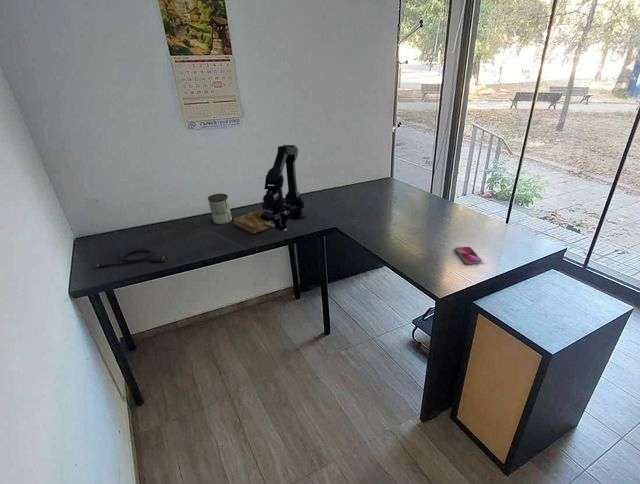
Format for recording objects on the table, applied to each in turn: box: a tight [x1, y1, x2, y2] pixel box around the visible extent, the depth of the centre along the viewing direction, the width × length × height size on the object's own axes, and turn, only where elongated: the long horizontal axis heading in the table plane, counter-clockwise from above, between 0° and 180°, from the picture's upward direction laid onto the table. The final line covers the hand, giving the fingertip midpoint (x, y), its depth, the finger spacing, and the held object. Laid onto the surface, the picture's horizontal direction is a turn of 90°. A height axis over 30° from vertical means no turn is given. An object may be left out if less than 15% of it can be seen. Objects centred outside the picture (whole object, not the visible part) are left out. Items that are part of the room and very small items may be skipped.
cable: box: [96, 248, 166, 268], centre depth 178 cm, size 14×28×2 cm, turn 100°
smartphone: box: [455, 246, 482, 265], centre depth 176 cm, size 7×1×15 cm
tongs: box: [264, 221, 288, 232], centre depth 196 cm, size 14×6×3 cm, turn 49°
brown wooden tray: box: [233, 210, 275, 234], centre depth 208 cm, size 16×17×4 cm
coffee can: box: [207, 193, 233, 225], centre depth 211 cm, size 10×10×14 cm
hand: (280, 228), depth 195 cm, fingers closed on tongs, 3 cm apart
